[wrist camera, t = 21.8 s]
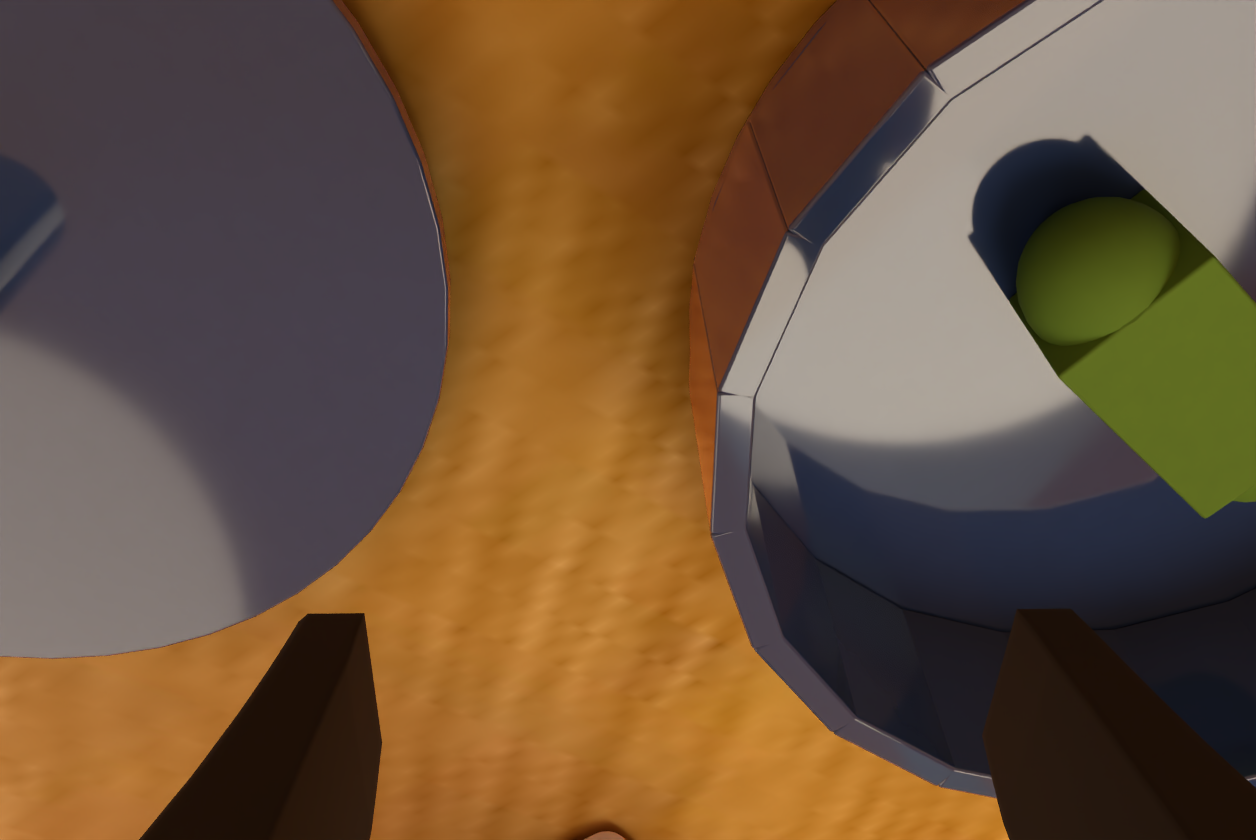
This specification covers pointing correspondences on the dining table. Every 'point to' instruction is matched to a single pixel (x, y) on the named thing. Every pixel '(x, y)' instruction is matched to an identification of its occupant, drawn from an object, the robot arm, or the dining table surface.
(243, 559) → the pan lid
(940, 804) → the dining table surface
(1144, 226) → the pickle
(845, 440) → the pan
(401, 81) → the dining table surface
